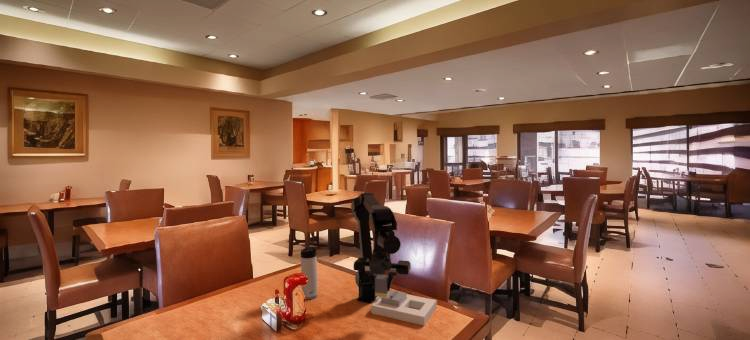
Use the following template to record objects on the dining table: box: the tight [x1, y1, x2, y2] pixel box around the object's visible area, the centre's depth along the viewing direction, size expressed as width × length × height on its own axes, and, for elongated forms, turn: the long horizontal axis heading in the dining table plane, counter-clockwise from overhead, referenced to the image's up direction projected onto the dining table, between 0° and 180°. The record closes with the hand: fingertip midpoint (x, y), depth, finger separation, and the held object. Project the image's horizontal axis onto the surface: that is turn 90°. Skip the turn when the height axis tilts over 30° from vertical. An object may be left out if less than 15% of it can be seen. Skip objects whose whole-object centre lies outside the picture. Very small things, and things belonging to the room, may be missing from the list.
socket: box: [370, 293, 438, 326], centre depth 126 cm, size 20×14×4 cm
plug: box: [375, 274, 389, 297], centre depth 117 cm, size 4×4×6 cm
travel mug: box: [300, 246, 319, 301], centre depth 139 cm, size 6×7×20 cm
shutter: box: [381, 289, 408, 306], centre depth 127 cm, size 7×7×3 cm
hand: (382, 290), depth 117 cm, fingers closed on plug, 4 cm apart
